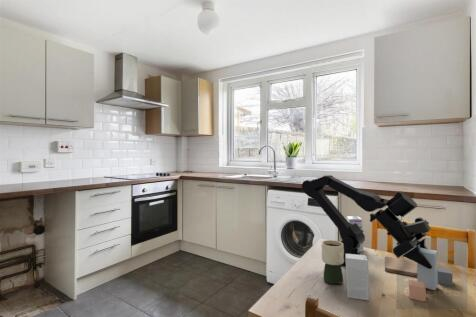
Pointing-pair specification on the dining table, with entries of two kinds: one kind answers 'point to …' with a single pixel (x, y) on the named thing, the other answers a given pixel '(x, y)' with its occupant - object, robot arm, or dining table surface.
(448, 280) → the charcoal block
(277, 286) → the dining table surface
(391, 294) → the dining table surface
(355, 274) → the skincare box
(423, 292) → the terracotta block
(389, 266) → the walnut board
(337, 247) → the character mug
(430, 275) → the slate block
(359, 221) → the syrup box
